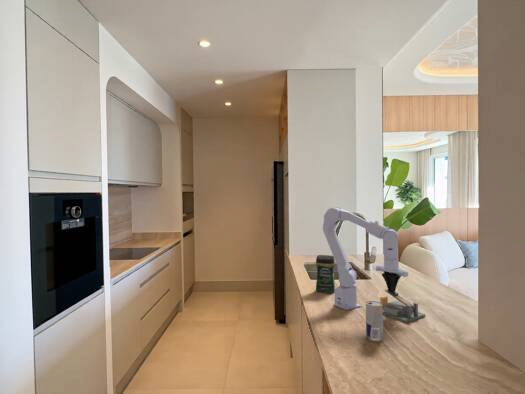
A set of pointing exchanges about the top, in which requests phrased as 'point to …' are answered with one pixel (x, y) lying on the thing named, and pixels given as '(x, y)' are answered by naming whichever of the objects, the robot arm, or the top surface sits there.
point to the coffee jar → (325, 274)
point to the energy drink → (374, 321)
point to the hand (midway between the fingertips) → (391, 290)
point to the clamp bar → (399, 298)
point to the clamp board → (409, 315)
